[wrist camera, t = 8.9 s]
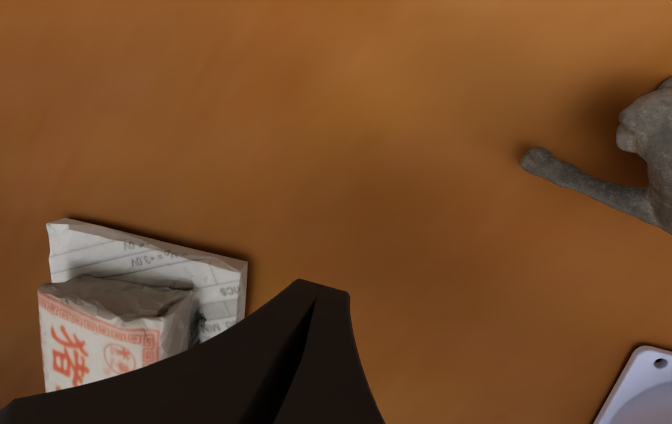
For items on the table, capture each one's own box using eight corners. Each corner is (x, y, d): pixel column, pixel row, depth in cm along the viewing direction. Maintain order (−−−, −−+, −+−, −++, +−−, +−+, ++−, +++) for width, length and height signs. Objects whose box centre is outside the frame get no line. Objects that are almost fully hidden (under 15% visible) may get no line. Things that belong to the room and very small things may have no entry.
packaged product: (192, 596, 24) (21, 542, 25) (228, 509, 28) (81, 466, 30) (212, 311, 17) (-24, 253, 18) (255, 255, 22) (63, 211, 23)
